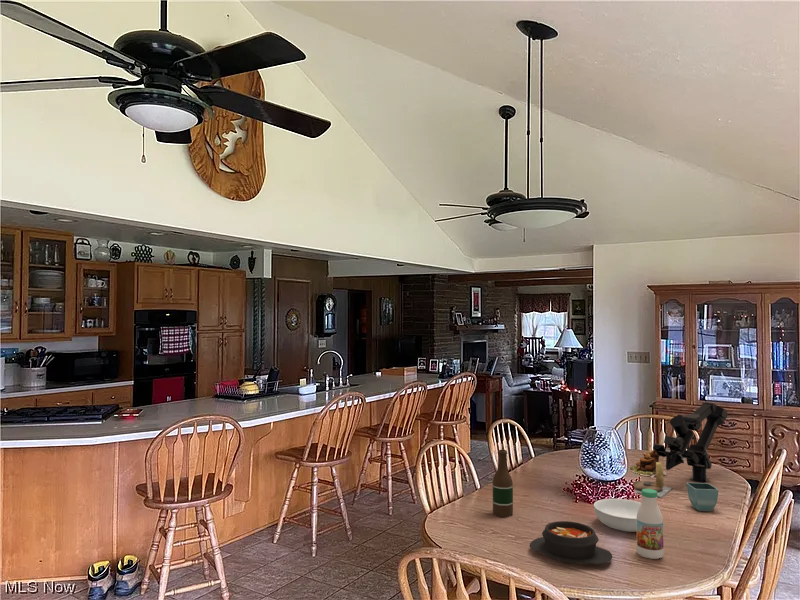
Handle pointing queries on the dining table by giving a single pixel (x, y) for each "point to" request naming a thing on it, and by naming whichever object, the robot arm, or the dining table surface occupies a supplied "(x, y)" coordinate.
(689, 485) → the flower pot
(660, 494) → the stand
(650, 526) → the milk bottle
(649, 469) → the bear figurine
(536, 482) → the dining table surface
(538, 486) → the dining table surface
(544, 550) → the casserole
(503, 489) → the beer bottle
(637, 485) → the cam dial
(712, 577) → the dining table surface
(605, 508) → the serving bowl
